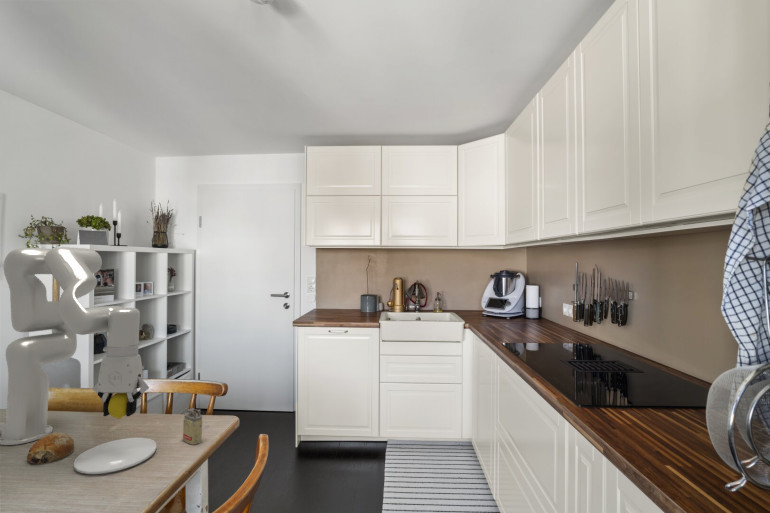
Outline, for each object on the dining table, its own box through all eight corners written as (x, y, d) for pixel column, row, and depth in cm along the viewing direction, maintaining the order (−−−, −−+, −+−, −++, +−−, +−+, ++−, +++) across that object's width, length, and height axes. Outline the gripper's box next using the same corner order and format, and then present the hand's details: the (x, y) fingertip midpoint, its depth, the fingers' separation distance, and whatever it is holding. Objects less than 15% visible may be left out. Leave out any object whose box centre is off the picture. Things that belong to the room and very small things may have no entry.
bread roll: (74, 466, 107) (88, 436, 111) (36, 467, 98) (53, 434, 102) (52, 460, 110) (67, 431, 114) (13, 460, 102) (30, 428, 105)
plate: (54, 476, 96) (54, 470, 96) (106, 442, 115) (107, 437, 115) (129, 476, 96) (129, 470, 96) (169, 442, 115) (169, 437, 115)
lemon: (118, 424, 103) (120, 394, 103) (102, 422, 104) (103, 393, 104) (135, 416, 108) (137, 388, 108) (120, 414, 109) (121, 387, 110)
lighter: (180, 440, 117) (181, 408, 118) (191, 435, 121) (193, 404, 121) (193, 446, 114) (194, 413, 114) (204, 441, 117) (206, 409, 117)
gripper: (82, 353, 103) (78, 419, 102) (145, 354, 103) (142, 419, 103) (101, 348, 110) (98, 409, 109) (160, 348, 111) (157, 409, 110)
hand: (119, 413), depth 106 cm, fingers closed on lemon, 5 cm apart
